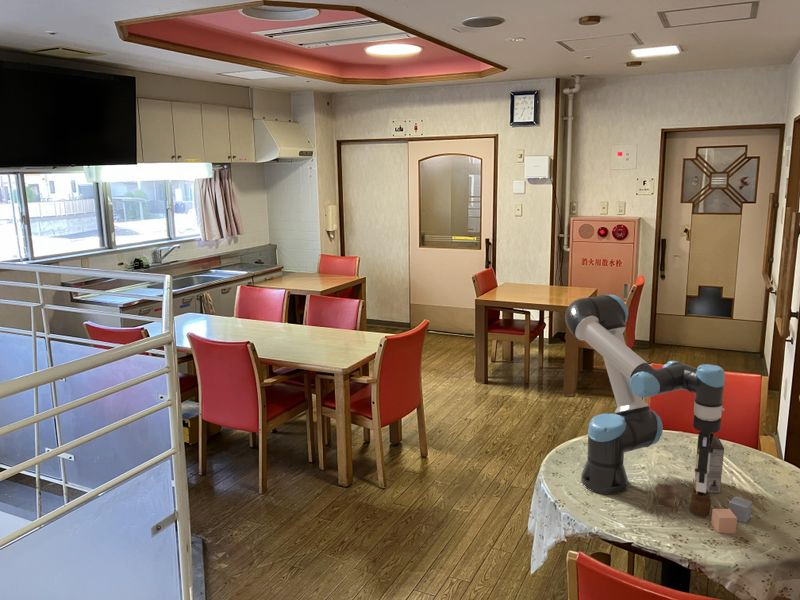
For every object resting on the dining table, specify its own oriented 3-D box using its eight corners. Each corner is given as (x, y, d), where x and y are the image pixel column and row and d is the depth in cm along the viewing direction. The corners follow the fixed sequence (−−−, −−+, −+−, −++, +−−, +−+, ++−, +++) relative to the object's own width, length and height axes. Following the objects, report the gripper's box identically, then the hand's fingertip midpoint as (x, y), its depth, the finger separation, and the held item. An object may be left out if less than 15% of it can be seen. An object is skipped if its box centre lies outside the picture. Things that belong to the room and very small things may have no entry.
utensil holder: (714, 514, 203) (717, 479, 200) (700, 520, 200) (703, 484, 198) (698, 505, 208) (701, 471, 206) (684, 510, 206) (687, 475, 203)
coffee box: (693, 478, 225) (697, 435, 222) (713, 479, 224) (717, 436, 220) (700, 492, 216) (704, 446, 213) (721, 493, 215) (725, 448, 211)
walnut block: (657, 505, 209) (658, 491, 208) (656, 497, 214) (657, 483, 213) (674, 507, 208) (675, 493, 206) (673, 499, 212) (674, 485, 211)
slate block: (727, 517, 202) (729, 502, 201) (733, 510, 205) (734, 496, 204) (745, 523, 198) (747, 508, 197) (750, 516, 202) (752, 501, 201)
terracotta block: (718, 533, 194) (719, 517, 193) (711, 523, 199) (712, 508, 197) (735, 533, 193) (737, 517, 192) (728, 523, 198) (729, 508, 197)
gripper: (719, 434, 185) (713, 503, 189) (723, 404, 206) (718, 466, 211) (690, 429, 188) (685, 497, 193) (697, 400, 210) (692, 462, 214)
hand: (702, 481), depth 202 cm, fingers open, 13 cm apart
